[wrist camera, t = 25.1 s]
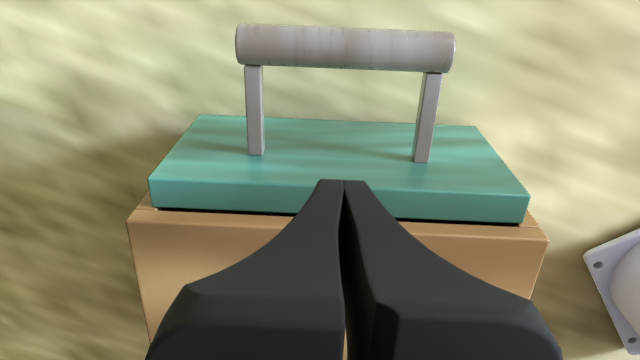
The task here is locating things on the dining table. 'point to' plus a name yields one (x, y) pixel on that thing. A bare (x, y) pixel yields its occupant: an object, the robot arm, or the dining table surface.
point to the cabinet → (257, 230)
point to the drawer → (339, 139)
